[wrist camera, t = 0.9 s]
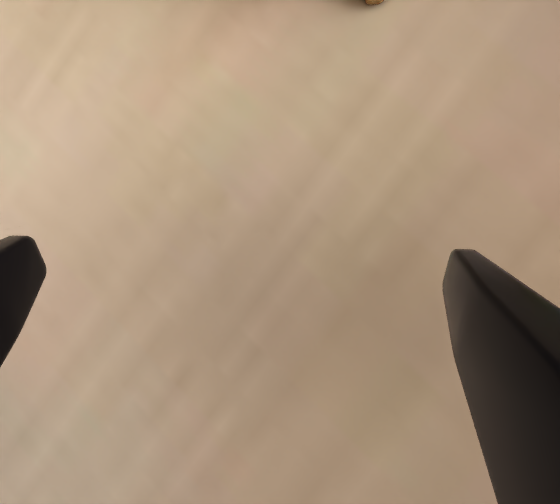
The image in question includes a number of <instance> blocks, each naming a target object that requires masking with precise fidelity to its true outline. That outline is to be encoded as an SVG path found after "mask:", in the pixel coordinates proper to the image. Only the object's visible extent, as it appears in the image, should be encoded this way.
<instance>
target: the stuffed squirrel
mask: <svg viewBox="0 0 560 504" xmlns="http://www.w3.org/2000/svg"><path fill="white" fill-rule="evenodd" d="M365 1H366V3H367V4H379V3H381V2H383V1H384V0H365Z"/></svg>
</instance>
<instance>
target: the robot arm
mask: <svg viewBox="0 0 560 504" xmlns="http://www.w3.org/2000/svg"><path fill="white" fill-rule="evenodd" d="M45 276H46V265H45V263H44V261H43V258H42V256H41V254H40V251H39V249H38V247H37V245H36V242H35V241H34V240H33V239H32V238H31V237H29V236H9V237H6V238H4V239H1V240H0V367H1V365H2V364H3V362H4V360H5V358H6V357H7V355H8V353H9V352H10V350H11V348H12V346H13V345H14V343H15V341H16V339H17V337H18V336H19V334H20V332H21V330H22V328H23V325H24V323H25V321H26V319H27V317H28V314H29V312H30V310H31V308H32V305H33V303H34V301H35V299H36V296H37V294H38V292H39V290H40V287H41V285H42V283H43V281H44V278H45ZM443 296H444V302H445V308H446V314H447V320H448V326H449V332H450V338H451V344H452V349H453V354H454V358H455V362H456V366H457V369H458V372H459V376H460V379H461V382H462V386H463V389H464V392H465V396H466V399H467V402H468V406H469V409H470V412H471V416H472V419H473V422H474V426H475V429H476V432H477V436H478V439H479V442H480V446H481V449H482V452H483V456H484V459H485V462H486V466H487V469H488V472H489V476H490V479H491V482H492V486H493V489H494V492H495V496H496V499H497V502H498V504H560V308H558V307H557V306H556V305H554V304H553V303H551V302H550V301H548V300H547V299H545V298H544V297H542V296H541V295H540V294H538V293H537V292H535V291H534V290H532V289H531V288H529V287H528V286H526V285H525V284H523V283H522V282H521V281H519V280H518V279H516V278H515V277H513V276H512V275H510V274H509V273H507V272H506V271H505V270H503V269H502V268H500V267H499V266H497V265H496V264H494V263H493V262H491V261H490V260H489V259H487V258H486V257H484V256H483V255H481V254H480V253H478V252H477V251H475V250H471V249H455V250H453V251H452V252H451V254H450V257H449V261H448V264H447V268H446V272H445V276H444V279H443Z"/></svg>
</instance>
